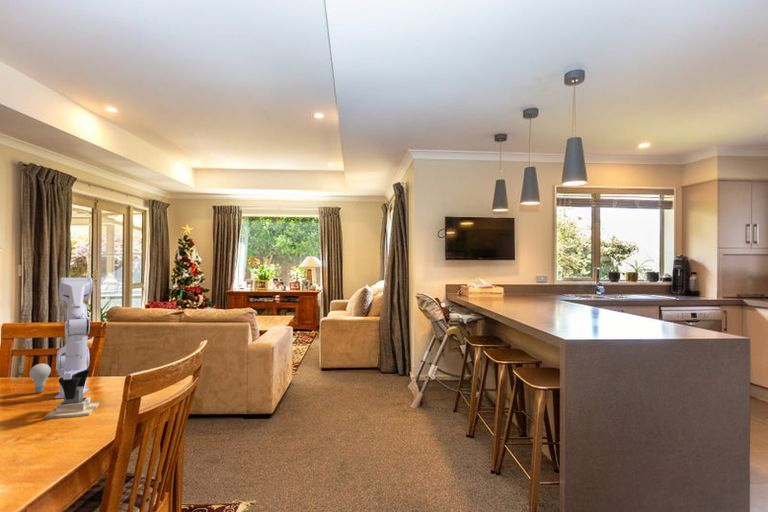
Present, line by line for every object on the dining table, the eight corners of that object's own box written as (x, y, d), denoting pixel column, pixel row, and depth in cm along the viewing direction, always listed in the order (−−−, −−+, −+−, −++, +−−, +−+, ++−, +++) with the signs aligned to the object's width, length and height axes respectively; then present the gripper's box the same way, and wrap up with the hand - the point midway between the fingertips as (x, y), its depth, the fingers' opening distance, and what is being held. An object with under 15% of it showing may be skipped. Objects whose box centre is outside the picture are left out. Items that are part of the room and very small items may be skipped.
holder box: (59, 406, 137) (59, 397, 137) (100, 403, 141) (101, 394, 141) (43, 419, 125) (44, 409, 125) (89, 415, 130) (89, 405, 130)
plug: (68, 406, 134) (69, 387, 134) (82, 405, 136) (83, 386, 136) (63, 410, 130) (64, 390, 131) (78, 409, 132) (79, 389, 132)
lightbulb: (37, 396, 147) (38, 366, 147) (24, 394, 148) (25, 365, 149) (54, 391, 153) (55, 362, 153) (41, 389, 154) (42, 361, 155)
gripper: (70, 350, 139) (68, 389, 139) (52, 360, 125) (50, 403, 125) (94, 349, 141) (92, 388, 141) (79, 359, 128) (77, 401, 128)
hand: (74, 395), depth 133 cm, fingers open, 7 cm apart
